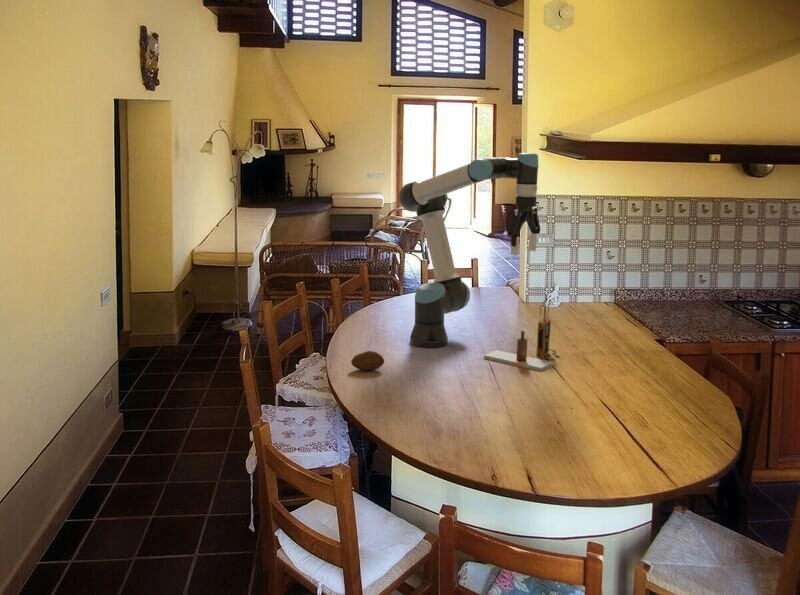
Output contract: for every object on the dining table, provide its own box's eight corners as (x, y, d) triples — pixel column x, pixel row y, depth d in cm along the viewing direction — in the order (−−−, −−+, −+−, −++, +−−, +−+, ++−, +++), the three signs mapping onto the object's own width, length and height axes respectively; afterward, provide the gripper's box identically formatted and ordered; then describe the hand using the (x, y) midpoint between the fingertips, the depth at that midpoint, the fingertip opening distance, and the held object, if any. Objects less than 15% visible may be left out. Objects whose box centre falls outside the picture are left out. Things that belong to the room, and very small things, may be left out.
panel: (483, 358, 289) (483, 355, 289) (496, 353, 296) (496, 350, 296) (541, 371, 275) (541, 367, 274) (553, 365, 282) (553, 362, 281)
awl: (514, 360, 283) (516, 331, 280) (519, 358, 286) (520, 329, 283) (523, 362, 281) (525, 332, 278) (528, 359, 284) (529, 330, 281)
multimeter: (559, 362, 285) (562, 309, 281) (533, 358, 290) (535, 306, 286) (570, 352, 298) (573, 302, 294) (544, 349, 303) (547, 299, 298)
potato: (350, 368, 275) (350, 349, 274) (381, 366, 277) (382, 347, 276) (352, 373, 269) (352, 354, 267) (385, 372, 271) (385, 353, 269)
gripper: (518, 198, 273) (515, 257, 277) (551, 194, 292) (548, 250, 296) (499, 197, 277) (497, 255, 282) (533, 193, 296) (530, 248, 301)
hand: (523, 252), depth 289 cm, fingers open, 13 cm apart
